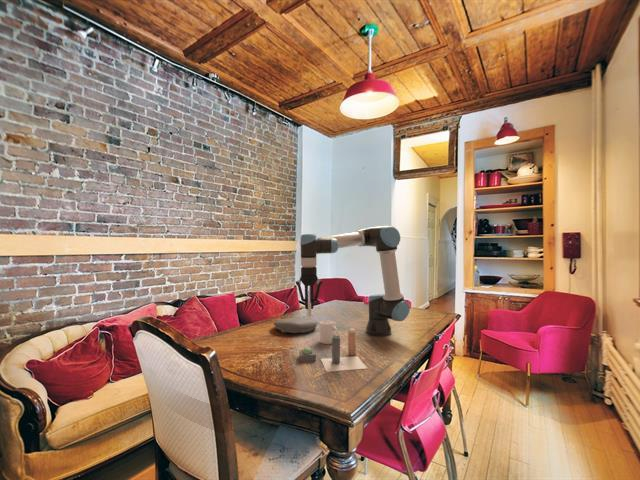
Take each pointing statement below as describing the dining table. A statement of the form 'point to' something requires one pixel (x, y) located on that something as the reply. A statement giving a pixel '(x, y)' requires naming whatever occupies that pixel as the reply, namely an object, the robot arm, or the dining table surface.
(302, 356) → the button base
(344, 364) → the paper
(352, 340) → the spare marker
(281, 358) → the dining table surface
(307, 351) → the button
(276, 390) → the dining table surface
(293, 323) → the flat disc
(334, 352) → the marker
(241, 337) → the dining table surface
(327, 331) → the mug
